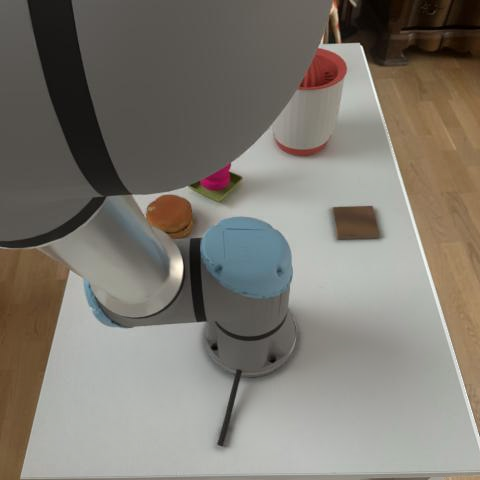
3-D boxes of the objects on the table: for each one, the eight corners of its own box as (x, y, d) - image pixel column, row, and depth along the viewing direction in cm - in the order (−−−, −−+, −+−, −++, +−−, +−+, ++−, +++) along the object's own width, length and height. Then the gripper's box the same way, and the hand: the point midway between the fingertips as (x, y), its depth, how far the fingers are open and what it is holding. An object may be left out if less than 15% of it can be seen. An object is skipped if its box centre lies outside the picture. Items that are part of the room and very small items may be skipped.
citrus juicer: (278, 112, 109) (281, 23, 92) (345, 131, 104) (361, 40, 87) (248, 149, 102) (246, 59, 85) (319, 170, 97) (331, 80, 80)
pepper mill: (205, 166, 96) (194, 74, 79) (237, 173, 94) (232, 80, 77) (192, 188, 92) (177, 96, 75) (225, 195, 91) (217, 103, 74)
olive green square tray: (212, 170, 98) (211, 162, 96) (244, 184, 95) (244, 177, 93) (187, 193, 94) (186, 185, 93) (220, 208, 92) (219, 201, 90)
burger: (200, 234, 88) (197, 216, 84) (154, 246, 87) (149, 230, 83) (187, 202, 93) (184, 184, 89) (144, 213, 92) (139, 196, 88)
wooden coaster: (378, 238, 86) (379, 234, 85) (337, 239, 86) (337, 236, 85) (371, 209, 90) (372, 205, 89) (332, 210, 90) (332, 206, 89)
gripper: (73, -135, 39) (131, 97, 57) (168, -198, 51) (191, 8, 69) (-3, -137, 40) (78, 91, 58) (109, -198, 53) (146, 4, 71)
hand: (140, 46), depth 64 cm, fingers open, 13 cm apart
